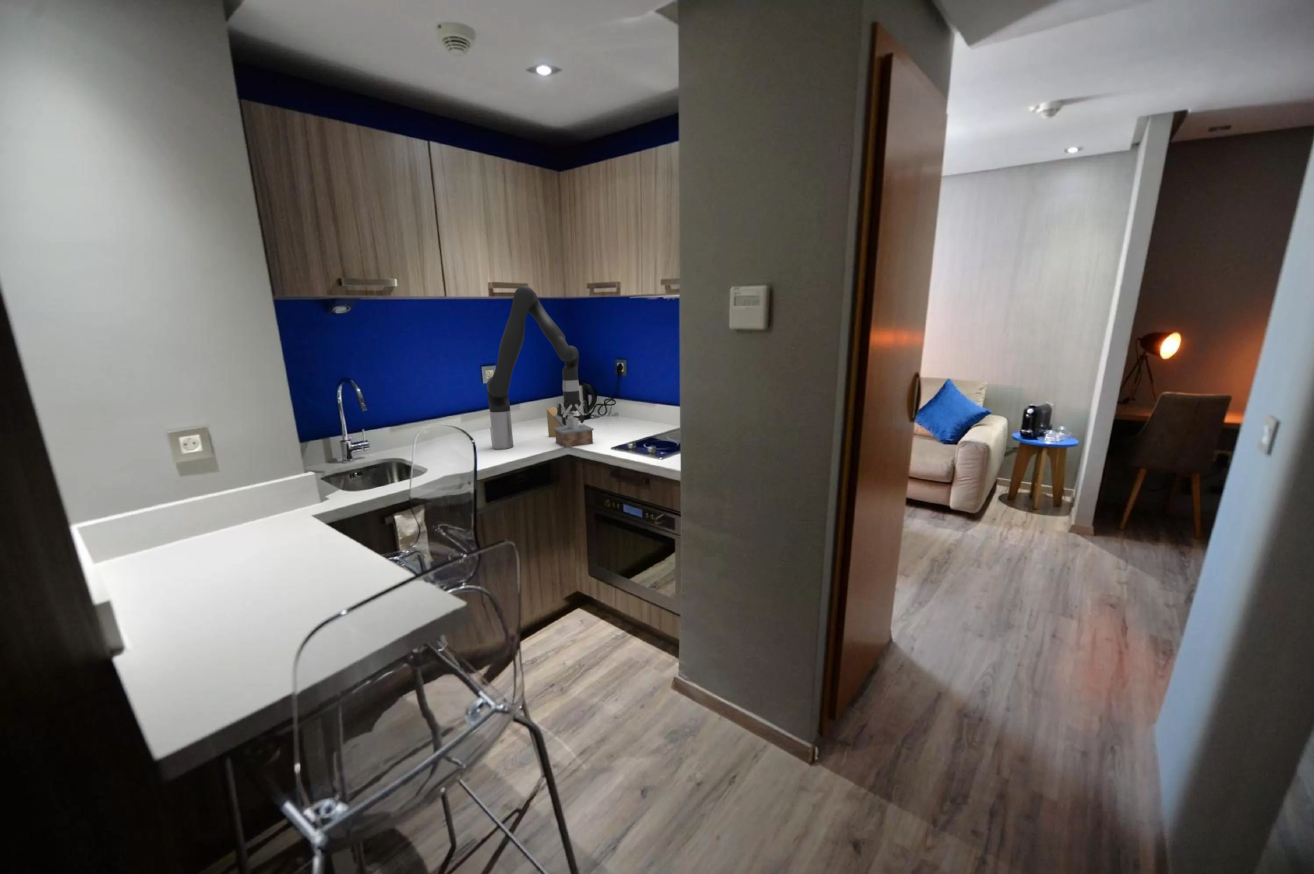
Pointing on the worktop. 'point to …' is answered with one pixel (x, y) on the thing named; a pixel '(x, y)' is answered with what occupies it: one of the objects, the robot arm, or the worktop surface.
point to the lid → (573, 426)
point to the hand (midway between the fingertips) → (573, 423)
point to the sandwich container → (554, 421)
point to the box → (574, 438)
